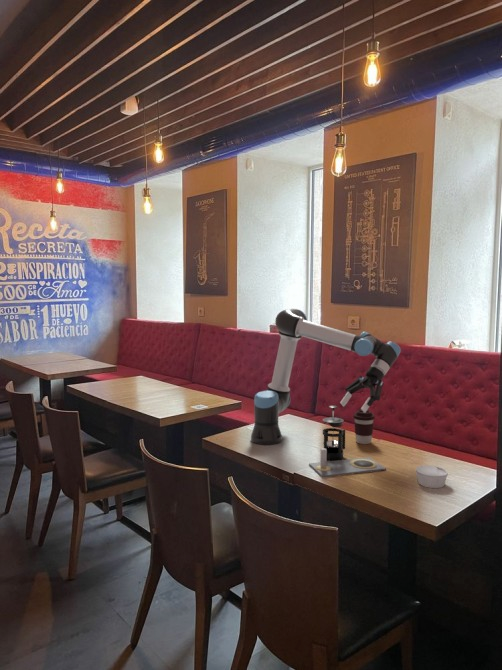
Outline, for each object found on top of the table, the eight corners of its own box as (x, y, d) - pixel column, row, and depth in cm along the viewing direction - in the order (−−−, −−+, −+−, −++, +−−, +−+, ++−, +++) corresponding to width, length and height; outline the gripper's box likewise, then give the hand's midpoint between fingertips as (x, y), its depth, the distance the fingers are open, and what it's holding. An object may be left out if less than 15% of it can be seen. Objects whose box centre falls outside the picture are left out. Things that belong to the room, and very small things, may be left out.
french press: (330, 463, 208) (331, 409, 206) (316, 456, 216) (316, 405, 214) (351, 458, 214) (351, 406, 212) (336, 452, 222) (336, 402, 220)
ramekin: (453, 487, 182) (454, 474, 181) (427, 491, 179) (428, 477, 178) (434, 476, 192) (434, 463, 192) (409, 480, 189) (409, 466, 189)
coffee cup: (358, 437, 243) (358, 408, 242) (377, 441, 238) (377, 410, 236) (349, 443, 235) (350, 412, 234) (369, 446, 230) (370, 415, 228)
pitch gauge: (308, 465, 206) (309, 444, 205) (369, 458, 213) (369, 439, 212) (322, 477, 192) (322, 455, 191) (386, 470, 199) (386, 449, 199)
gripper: (402, 380, 215) (376, 418, 209) (362, 372, 236) (338, 407, 230) (394, 369, 212) (367, 408, 206) (354, 362, 233) (329, 397, 227)
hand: (352, 407), depth 218 cm, fingers open, 13 cm apart
